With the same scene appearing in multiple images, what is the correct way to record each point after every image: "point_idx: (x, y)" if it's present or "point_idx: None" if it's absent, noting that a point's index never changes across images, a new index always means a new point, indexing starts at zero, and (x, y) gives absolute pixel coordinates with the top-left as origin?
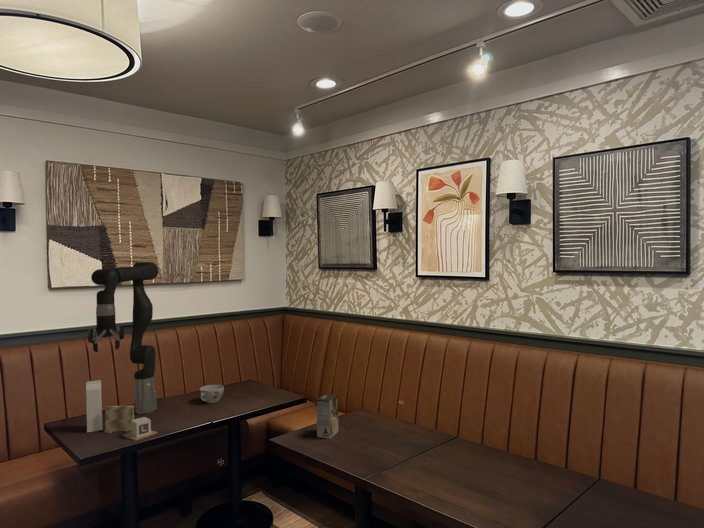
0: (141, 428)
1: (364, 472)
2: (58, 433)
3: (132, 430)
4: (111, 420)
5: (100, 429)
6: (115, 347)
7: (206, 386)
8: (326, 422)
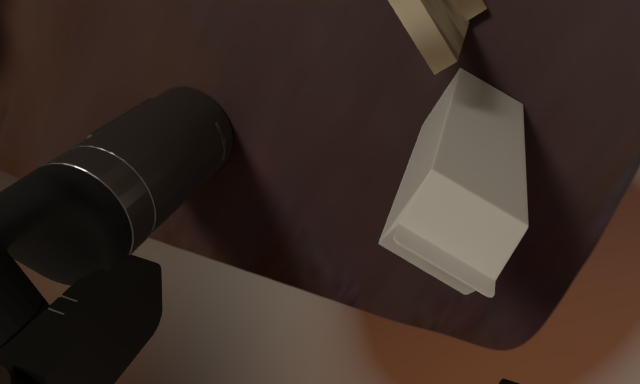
0: None
1: None
2: (592, 224)
3: None
4: (445, 4)
5: (467, 73)
6: (145, 329)
7: None
8: None
